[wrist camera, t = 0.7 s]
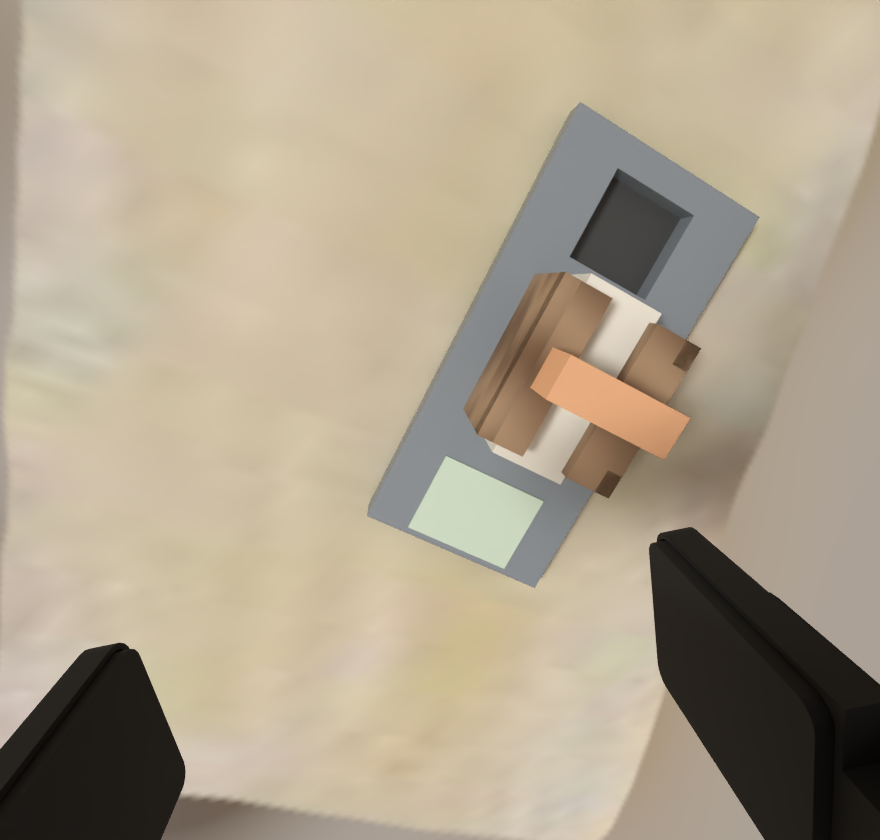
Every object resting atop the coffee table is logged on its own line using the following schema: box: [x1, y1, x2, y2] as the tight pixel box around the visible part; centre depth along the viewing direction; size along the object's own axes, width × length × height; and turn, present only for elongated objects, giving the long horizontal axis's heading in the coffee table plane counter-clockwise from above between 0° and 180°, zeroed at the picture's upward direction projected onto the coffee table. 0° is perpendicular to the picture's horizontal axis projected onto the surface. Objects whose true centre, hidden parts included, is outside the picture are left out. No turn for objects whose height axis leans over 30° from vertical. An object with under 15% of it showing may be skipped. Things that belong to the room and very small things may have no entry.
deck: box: [367, 102, 759, 588], centre depth 36 cm, size 30×14×2 cm, turn 153°
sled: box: [485, 273, 690, 485], centre depth 30 cm, size 12×7×10 cm, turn 153°
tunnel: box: [463, 272, 701, 498], centre depth 32 cm, size 10×9×6 cm
